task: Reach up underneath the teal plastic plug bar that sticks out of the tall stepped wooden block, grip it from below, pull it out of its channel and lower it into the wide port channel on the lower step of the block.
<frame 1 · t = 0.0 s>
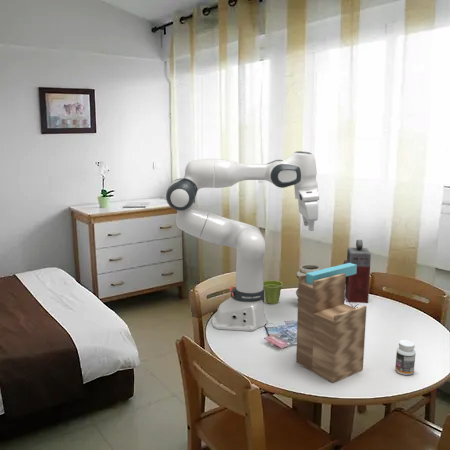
hand: (308, 228, 187), 39 cm above the table, tool pointing down, fingers open, 8 cm apart
apothecary jar: (309, 305, 212), on the table
stepped wooden block: (327, 365, 159), on the table
lily flower: (353, 314, 204), on the table
plant pot: (272, 302, 216), on the table
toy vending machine: (353, 299, 219), on the table
plug bar: (331, 278, 160), point 28 cm above the table, touching stepped wooden block
pill bottle: (404, 371, 155), on the table
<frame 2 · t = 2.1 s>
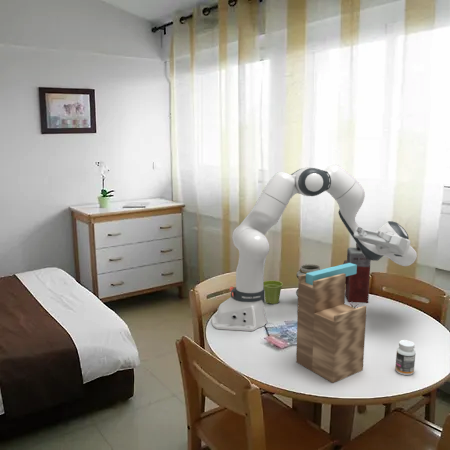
hand: (368, 231, 171), 41 cm above the table, tool pointing upward, fingers open, 8 cm apart
nothing on the table moved.
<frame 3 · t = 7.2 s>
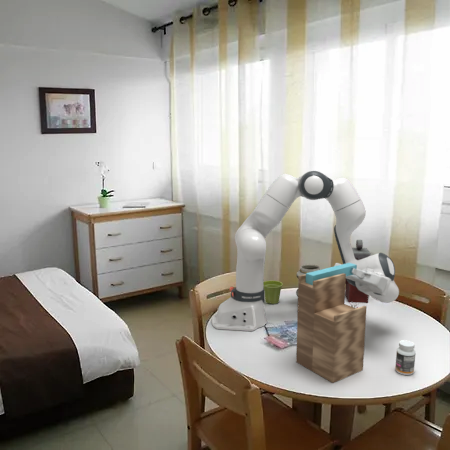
hand: (346, 268, 164), 30 cm above the table, tool pointing upward, fingers closed on plug bar, 3 cm apart
plug bar: (331, 278, 160), point 28 cm above the table, touching gripper, stepped wooden block
everything else where it was.
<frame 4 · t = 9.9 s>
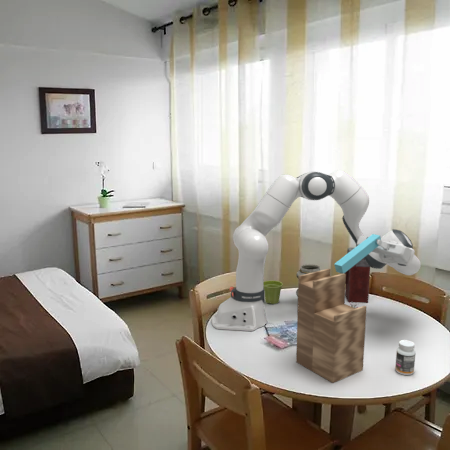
hand: (371, 240, 169), 38 cm above the table, tool pointing upward, fingers closed on plug bar, 3 cm apart
plug bar: (359, 257, 167), point 33 cm above the table, tilted 22°, touching gripper
everything else where it was.
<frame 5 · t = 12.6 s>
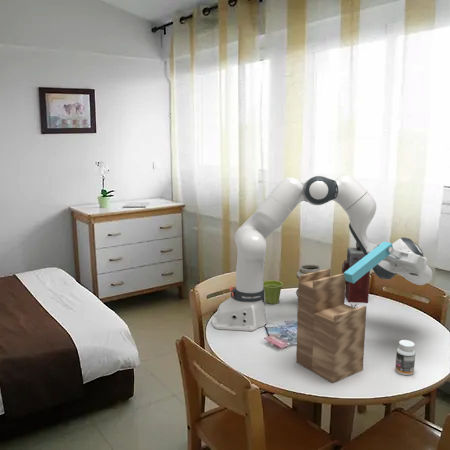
hand: (383, 247, 161), 38 cm above the table, tool pointing upward, fingers closed on plug bar, 3 cm apart
plug bar: (370, 265, 158), point 33 cm above the table, tilted 21°, touching gripper
everything else where it was.
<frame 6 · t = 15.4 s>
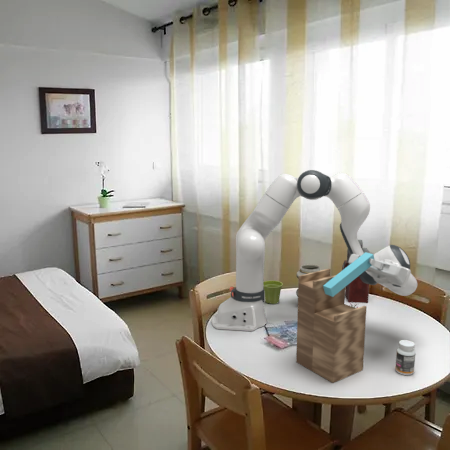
hand: (364, 259, 156), 35 cm above the table, tool pointing upward, fingers closed on plug bar, 3 cm apart
plug bar: (350, 277, 153), point 30 cm above the table, tilted 22°, touching gripper
everything else where it was.
when the fingers open (24 cm above the table, at t = 18.2 s): plug bar stays where it is, resting on stepped wooden block.
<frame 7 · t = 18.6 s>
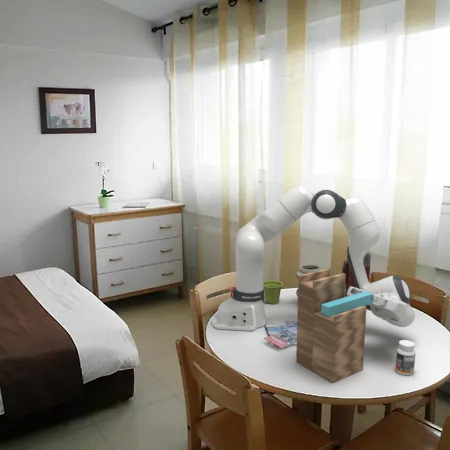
hand: (362, 293, 158), 23 cm above the table, tool pointing upward, fingers open, 7 cm apart
plug bar: (347, 308, 155), point 20 cm above the table, touching stepped wooden block
everything else where it was.
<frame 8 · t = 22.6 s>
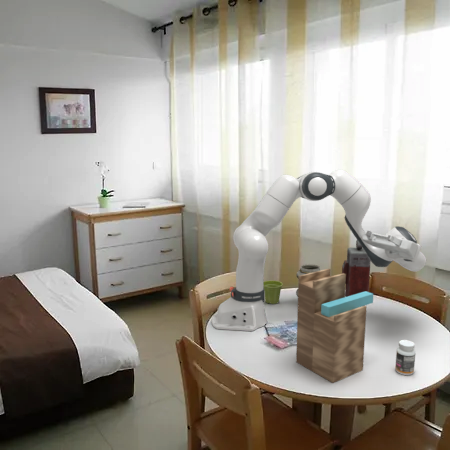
hand: (377, 235, 168), 40 cm above the table, tool pointing upward, fingers open, 8 cm apart
nothing on the table moved.
at the end: plug bar inside the target area on the stepped wooden block (1.9 cm from its centre), point 20.0 cm above the stepped wooden block's base; the gripper is holding nothing; plug bar moved 11.3 cm from its start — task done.
